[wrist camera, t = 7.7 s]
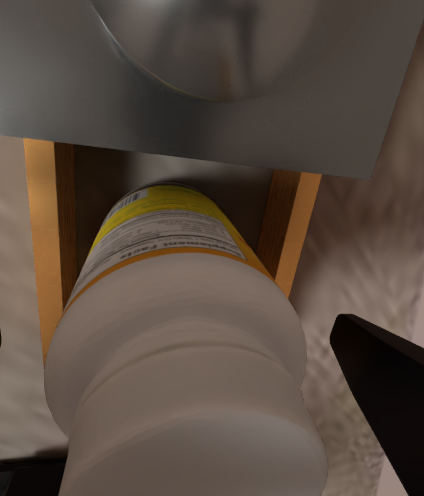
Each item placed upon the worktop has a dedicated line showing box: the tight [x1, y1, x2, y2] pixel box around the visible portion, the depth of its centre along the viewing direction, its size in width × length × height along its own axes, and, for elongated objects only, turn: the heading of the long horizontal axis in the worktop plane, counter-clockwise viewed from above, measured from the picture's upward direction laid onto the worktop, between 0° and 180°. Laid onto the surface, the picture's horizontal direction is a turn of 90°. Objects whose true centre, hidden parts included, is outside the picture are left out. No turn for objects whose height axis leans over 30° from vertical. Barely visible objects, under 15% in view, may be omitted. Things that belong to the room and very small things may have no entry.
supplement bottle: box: [44, 182, 328, 496], centre depth 9 cm, size 6×6×10 cm
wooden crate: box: [0, 0, 424, 369], centre depth 10 cm, size 18×12×6 cm
